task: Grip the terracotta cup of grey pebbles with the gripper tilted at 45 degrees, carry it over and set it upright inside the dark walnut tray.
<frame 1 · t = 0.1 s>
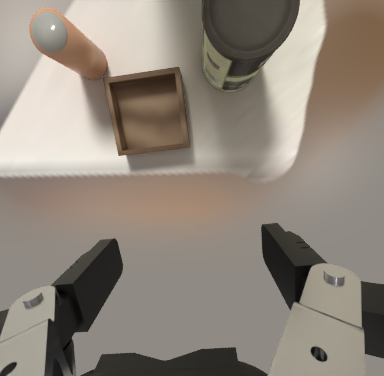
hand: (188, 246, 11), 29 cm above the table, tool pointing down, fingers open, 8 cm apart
walnut tray: (152, 116, 37), on the table
coffee can: (230, 61, 34), on the table
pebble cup: (92, 63, 35), on the table
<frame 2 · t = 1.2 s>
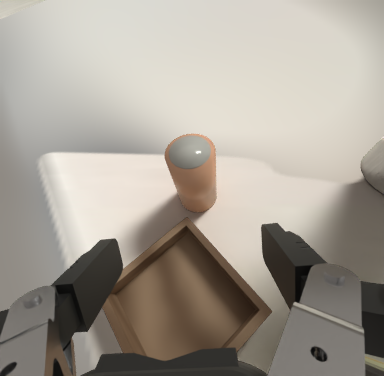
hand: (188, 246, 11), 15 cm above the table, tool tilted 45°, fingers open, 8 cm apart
walnut tray: (183, 301, 23), on the table
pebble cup: (198, 195, 30), on the table
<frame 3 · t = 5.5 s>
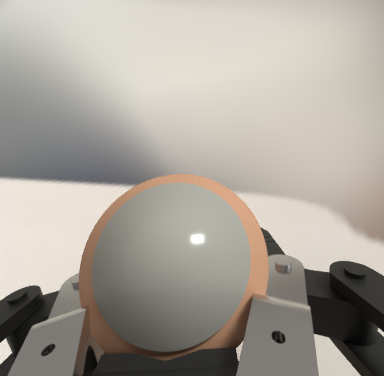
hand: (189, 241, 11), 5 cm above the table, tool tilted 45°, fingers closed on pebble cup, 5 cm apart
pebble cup: (199, 282, 14), on the table, touching gripper
when the fingers open (7 cm above the table, at t = 10.5 s): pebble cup drops 1 cm, resting on walnut tray.
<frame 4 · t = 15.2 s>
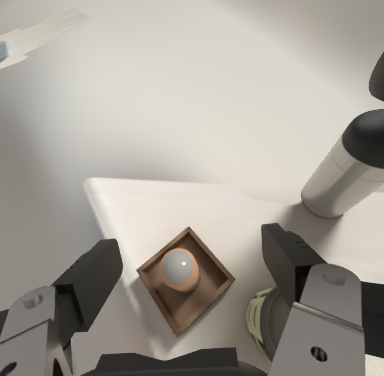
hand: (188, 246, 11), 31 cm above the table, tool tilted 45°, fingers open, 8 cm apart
walnut tray: (186, 276, 38), on the table
coffee can: (276, 321, 33), on the table
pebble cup: (186, 276, 37), point 1 cm above the table, touching walnut tray
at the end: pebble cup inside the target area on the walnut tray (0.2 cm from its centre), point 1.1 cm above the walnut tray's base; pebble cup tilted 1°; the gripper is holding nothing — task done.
